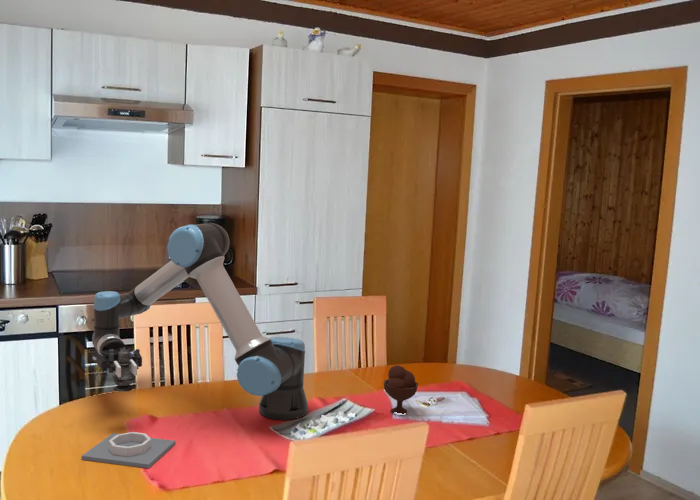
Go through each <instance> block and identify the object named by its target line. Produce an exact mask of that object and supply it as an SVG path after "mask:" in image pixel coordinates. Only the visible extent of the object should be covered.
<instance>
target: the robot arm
mask: <svg viewBox="0 0 700 500" xmlns="http://www.w3.org/2000/svg"><path fill="white" fill-rule="evenodd" d="M229 248H230V238H229V234H228V232H227V231H226V229H225V228H223V226H221V225H219V224H217V223H212V222H208V223H207V222H205V223H200V224H199V223H197V224H186V225H183V226H180V227H178V228H176V229H174V230H173V232H172V233H171V234H170V236H169V238H168V243H167V254H168V256H169V258H170V261H169V262H167V263H166V264H164V265H163V266H162V267H160V268H159V269H158V270H157V271H155V272H154V273H153V274H151V275H150V276H149V277H147V278H146V279H144V280H143V281H142V282H141V283H139V284H138V285H137V286H135V287H134V288H132V289H131V290H130V291H129V292H127V293H122V294H120V293H119V292H117V291H111V290H108V291H107V290H105V291H99V292H97V293H95V295H94V300H93V302H94V303H93V333H92V337H91V343H92V346H93V347H94V349H95V350H96V352H93V353H92V362H93V363H95V364H96V365H97V366H98V367H99V368H100V370H101V371H106V370H107V369H108V373H109V374H111V373H115V374H116V375H117V377H121V367H120V365H119V364H118V354H119V351H121V350H123V347H125V350H127V351H129V362H131V363H130V364H129V370H130V373H131V374H134V376H135V377H136V376H138V370H139V367H143V356H142V355H141V353H140V349H139V348H136V349H135V350H132V351H131V350H130V349H128V347H127V345H126V344H125V342H124V341H123V340H122V339H121V338H120V321H121V319H124V318H125V319H126V318H128V317H129V318H130V317H132V316H133V317H134V316H136V315H141V314H143V313H145V312H147V311H149V310H150V309H151V306H152V304H154V303H155V302H156V301H157V300H160V298H162V297H163V296H165V295H166V294H167V293H169V292H170V291H172V289H174V288H176V287H177V286H178V285H180V284H181V283H182V282H184V281H185V280H187V279H188V278H192V279H195V280H196V281H197V282H198V285H199V286H200V289H201V290H202V292H203V293H204V295H205V298H206V299H207V301H208V303H209V304H210V306H211V308H212V310H213V311H214V313H215V315H216V317H217V319H218V321H219V323H220V324H221V326H222V328H223V330H224V331H225V333H226V336H228V339H229V340H230V343H231V344H232V345H233V346H232V347H234V349H235V355H234V361H235V362H236V365H237V366H238V367H237V369H236V371H237V373H236V379H237V381H238V384H239V385H240V387H241V388H242V389H243V390H244V391H245V392H246V393H248V394H250V395H253V396H256V397H261V398H260V401H259V405H258V413H259V415H261V416H263V417H265V418H268V419H271V420H278V421H287V420H288V421H289V420H290V421H291V420H296V419H295V418H297V417H300V416H303V415H305V416H307V414H308V413H309V403H308V399H307V396H306V392H305V388H304V379H305V358H306V348H305V345H306V344H305V342H304V341H303V340H302V339H299V338H294V337H284V336H273V337H266V336H264V335H263V334H262V333H261V331H260V329H259V327H258V325H257V324H256V322H255V320H254V318H253V316H252V314H251V313H250V311H249V310H248V308H247V306H246V304H245V302H244V300H243V298H242V297H241V295H240V294H239V292H238V290H237V288H236V286H235V285H234V282H233V281H232V279H231V277H230V275H229V274H228V272H227V270H226V268H225V266H224V261H225V255H226V254H227V252H228V251H229ZM303 417H304V416H303ZM297 419H298V418H297Z"/></svg>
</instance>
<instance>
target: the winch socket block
mask: <svg viewBox="0 0 700 500" xmlns="http://www.w3.org/2000/svg"><path fill="white" fill-rule="evenodd" d="M175 445H176V440H173V439H164V438H157V437H156V438H155V437H150V436H149V435H148V434H147V433H144V432H136V431H130V432H126V433H125V432H124V433H118V432H117V433H115V432H114V433H111V434H110V435H109V436H106V438H104V439H102V440H101V441H99V443H97V444H96V445H94V446H93V447H92V448H90V449H89V450H87V451H85V453H84V454H81V460H82V461H90V462H97V463H104V464H112V465H113V464H114V465H120V466H128V467H135V468H143V469H150V468H151V467H152V466H153V465H154V464H155V463H156V462H157V461H159V460H160V459H161V458H162V457H163V456H164V455H165V454H166V453H167V452H168V451H169V450H171V449H172V448H173V447H174V446H175Z"/></svg>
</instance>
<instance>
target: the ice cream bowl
mask: <svg viewBox="0 0 700 500" xmlns="http://www.w3.org/2000/svg"><path fill="white" fill-rule="evenodd" d="M387 378H388V379H384V381H383V388H384V391H385V393H386V394H387V396H389V397H390V398H391V399H394V400H395V401H396V406H395V407H393V408H391V410H390V413H391V414H392V415H394V414H393V413H394V412H397V413H402V414H404V413H407V411H408V410H407V409H405V408H404V407H403V403H404V401H407V400H409V399H411V398H412V397H414V396H415V395H416V393H417V390H418V386H419V382H417V381H416V378H415V375H414V373H413V372H411V371H410V370H408V369H405V368H404V367H403V366H401V365H397V364H396V365H393V366H391V367H390V368H389V369H388V377H387Z"/></svg>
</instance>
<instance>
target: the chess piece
mask: <svg viewBox="0 0 700 500" xmlns="http://www.w3.org/2000/svg"><path fill="white" fill-rule="evenodd" d="M130 363H131V362H129V351H127V350H125V347H123V350H121V351H119V354H118V364H119V365H120V367H121V377H117V375H116V373H115V374H113V375H112V379H113V382H114V384H115V385H116V386H115V387H113V390H114V392H119V393H120V392H121V393H122V392H123V393H124V392H129V391H132V390H133V389H134V388H135V387H134V386H133V385H131V384H132V383H133V381H134V378H135V377H136V375H135V376H134V374H133V373H132V372H131V370H130V366H129V364H130Z"/></svg>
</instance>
